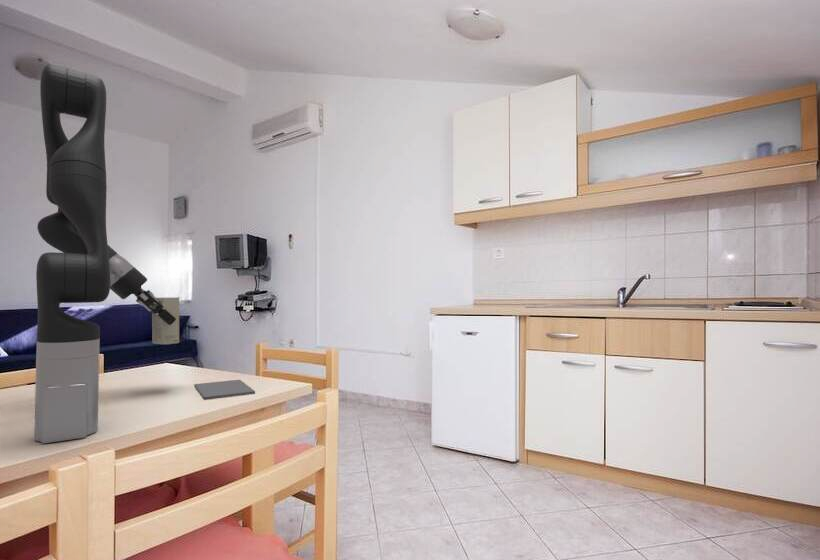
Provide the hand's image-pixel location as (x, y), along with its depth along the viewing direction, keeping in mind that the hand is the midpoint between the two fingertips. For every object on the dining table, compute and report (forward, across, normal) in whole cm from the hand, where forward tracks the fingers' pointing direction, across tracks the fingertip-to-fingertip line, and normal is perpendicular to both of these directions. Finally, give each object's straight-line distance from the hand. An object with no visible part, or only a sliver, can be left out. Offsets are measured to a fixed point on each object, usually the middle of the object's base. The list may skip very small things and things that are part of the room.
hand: (172, 321), depth 117 cm
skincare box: (+3, 0, +5) cm, 6 cm away
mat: (+21, -6, +4) cm, 23 cm away
